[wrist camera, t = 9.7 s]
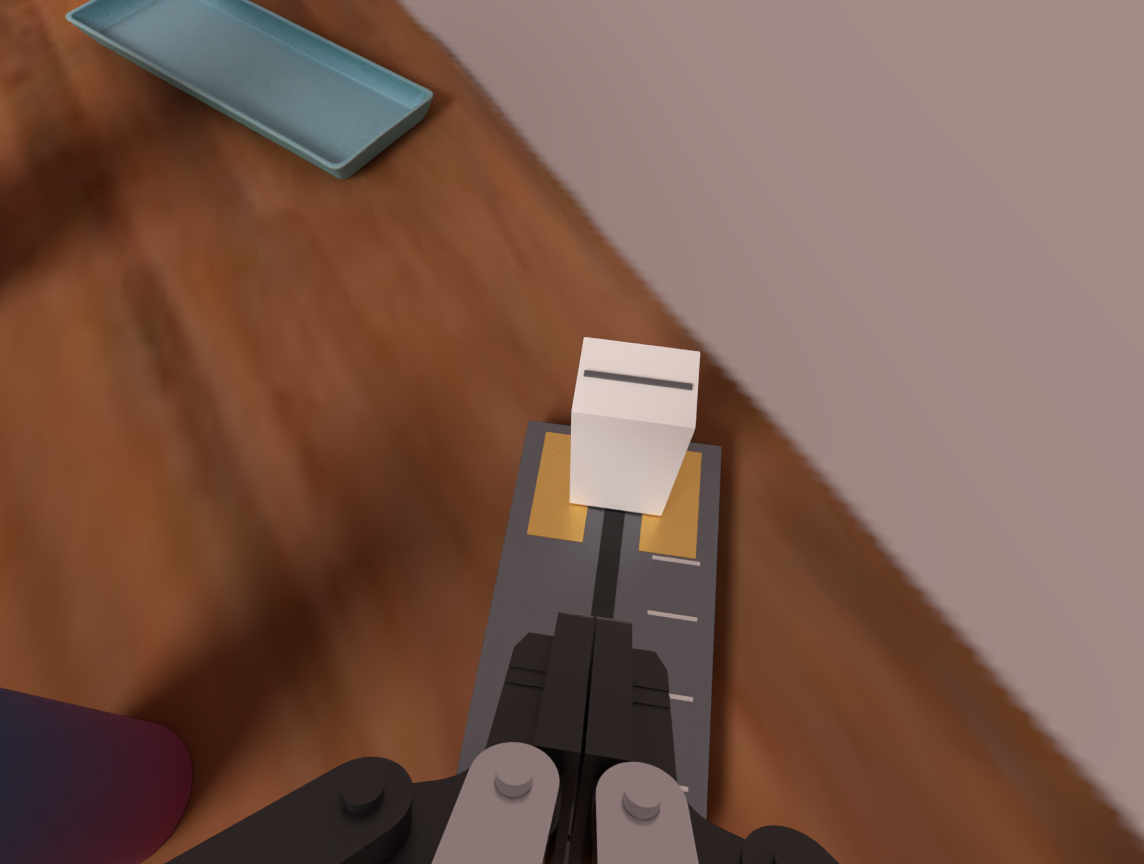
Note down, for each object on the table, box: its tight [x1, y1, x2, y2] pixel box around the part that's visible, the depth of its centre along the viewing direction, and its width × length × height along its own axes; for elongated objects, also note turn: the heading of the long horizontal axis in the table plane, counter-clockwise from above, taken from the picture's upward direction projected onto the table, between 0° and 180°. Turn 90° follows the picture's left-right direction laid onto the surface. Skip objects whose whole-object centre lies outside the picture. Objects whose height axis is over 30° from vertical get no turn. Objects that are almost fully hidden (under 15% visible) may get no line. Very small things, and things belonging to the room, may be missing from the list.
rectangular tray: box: [66, 0, 433, 179], centre depth 43 cm, size 26×9×2 cm, turn 55°
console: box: [456, 420, 722, 864], centre depth 26 cm, size 18×9×3 cm, turn 172°
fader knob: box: [570, 337, 700, 516], centre depth 24 cm, size 3×4×8 cm
